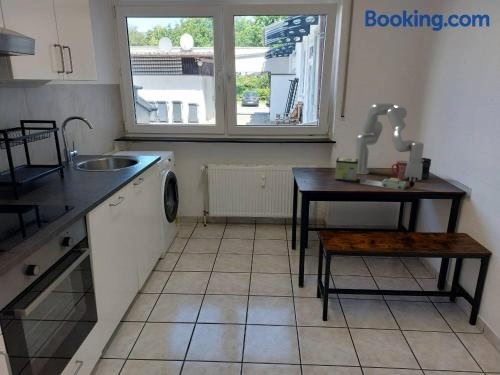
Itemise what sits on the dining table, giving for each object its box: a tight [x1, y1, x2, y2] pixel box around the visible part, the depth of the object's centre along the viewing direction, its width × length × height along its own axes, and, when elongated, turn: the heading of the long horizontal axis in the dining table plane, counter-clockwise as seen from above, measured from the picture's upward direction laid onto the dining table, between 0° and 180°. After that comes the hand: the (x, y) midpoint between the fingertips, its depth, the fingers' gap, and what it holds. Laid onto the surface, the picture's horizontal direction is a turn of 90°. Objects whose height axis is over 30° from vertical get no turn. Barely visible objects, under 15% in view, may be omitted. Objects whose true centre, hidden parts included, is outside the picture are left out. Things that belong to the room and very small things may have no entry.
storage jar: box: [420, 157, 432, 181], centre depth 257 cm, size 10×10×15 cm
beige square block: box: [388, 177, 401, 184], centre depth 238 cm, size 6×6×4 cm
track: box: [359, 174, 407, 191], centre depth 242 cm, size 30×12×4 cm, turn 56°
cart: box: [381, 178, 407, 190], centre depth 238 cm, size 14×12×3 cm
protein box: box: [334, 157, 358, 183], centre depth 254 cm, size 10×16×16 cm
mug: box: [391, 160, 409, 181], centre depth 255 cm, size 13×9×14 cm
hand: (411, 186), depth 232 cm, fingers closed
